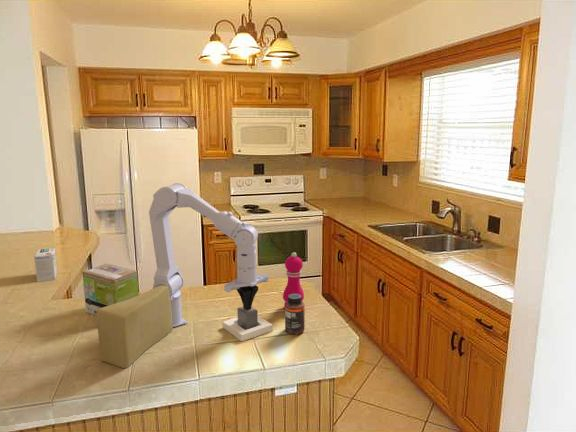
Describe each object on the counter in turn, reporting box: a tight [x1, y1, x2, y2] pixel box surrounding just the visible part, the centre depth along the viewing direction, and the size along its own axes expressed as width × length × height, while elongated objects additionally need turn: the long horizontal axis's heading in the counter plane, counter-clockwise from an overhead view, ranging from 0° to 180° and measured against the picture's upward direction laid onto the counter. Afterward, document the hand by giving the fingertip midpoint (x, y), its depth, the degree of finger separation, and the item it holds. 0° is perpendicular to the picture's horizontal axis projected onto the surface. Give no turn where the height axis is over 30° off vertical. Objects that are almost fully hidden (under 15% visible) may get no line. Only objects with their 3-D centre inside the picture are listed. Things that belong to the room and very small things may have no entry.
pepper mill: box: [282, 251, 305, 309], centre depth 144 cm, size 7×7×20 cm
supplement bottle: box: [284, 294, 306, 335], centre depth 129 cm, size 6×6×11 cm
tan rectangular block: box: [96, 286, 173, 369], centre depth 118 cm, size 22×10×15 cm, turn 153°
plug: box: [236, 305, 259, 330], centre depth 130 cm, size 4×5×6 cm
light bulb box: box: [33, 247, 58, 283], centre depth 173 cm, size 11×7×11 cm, turn 25°
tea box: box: [81, 263, 140, 316], centre depth 140 cm, size 15×10×15 cm, turn 62°
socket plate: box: [222, 315, 274, 342], centre depth 130 cm, size 11×11×2 cm
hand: (247, 308), depth 129 cm, fingers closed, pressing on plug
